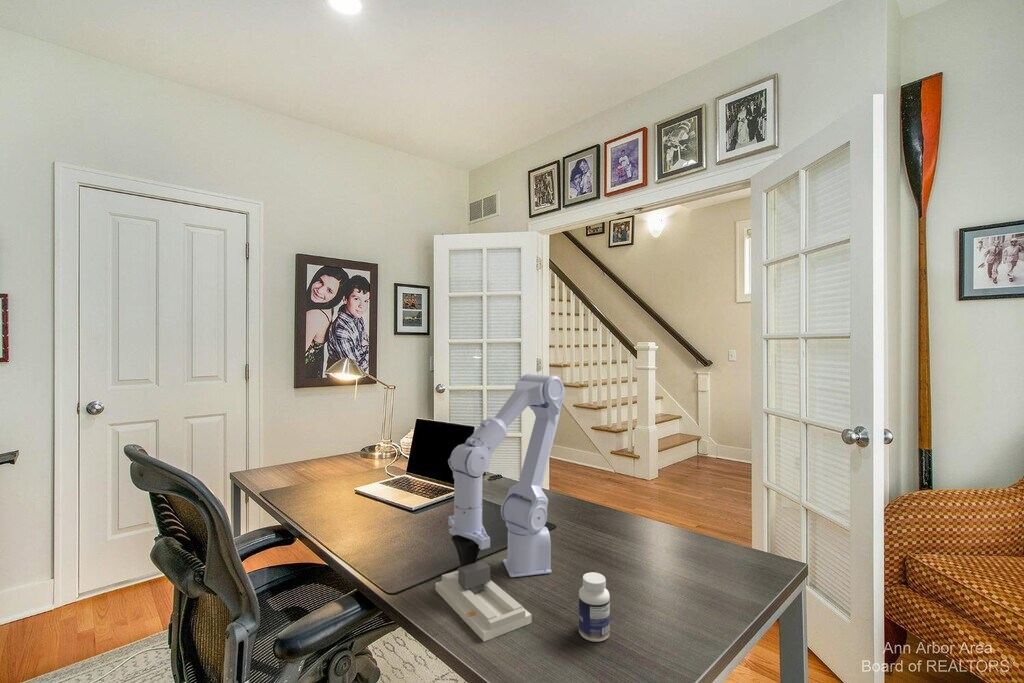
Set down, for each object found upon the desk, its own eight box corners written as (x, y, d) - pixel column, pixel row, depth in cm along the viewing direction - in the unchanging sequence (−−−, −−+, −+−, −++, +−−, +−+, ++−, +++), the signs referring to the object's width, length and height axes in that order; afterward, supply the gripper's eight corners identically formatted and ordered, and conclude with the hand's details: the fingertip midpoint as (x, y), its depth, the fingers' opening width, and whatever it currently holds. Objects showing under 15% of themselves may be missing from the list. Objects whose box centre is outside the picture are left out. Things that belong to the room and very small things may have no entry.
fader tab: (458, 590, 93) (458, 567, 93) (482, 583, 96) (482, 560, 96) (465, 597, 90) (465, 573, 90) (490, 589, 93) (490, 566, 93)
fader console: (435, 590, 96) (435, 575, 96) (478, 577, 102) (478, 563, 102) (483, 641, 80) (483, 623, 80) (531, 622, 85) (531, 606, 85)
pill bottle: (575, 624, 85) (575, 570, 85) (604, 623, 85) (604, 569, 85) (582, 643, 79) (582, 585, 79) (613, 642, 80) (613, 584, 80)
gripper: (435, 498, 99) (435, 562, 99) (467, 519, 87) (466, 593, 87) (465, 492, 103) (464, 554, 103) (499, 512, 91) (499, 582, 91)
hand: (467, 571), depth 95 cm, fingers closed
